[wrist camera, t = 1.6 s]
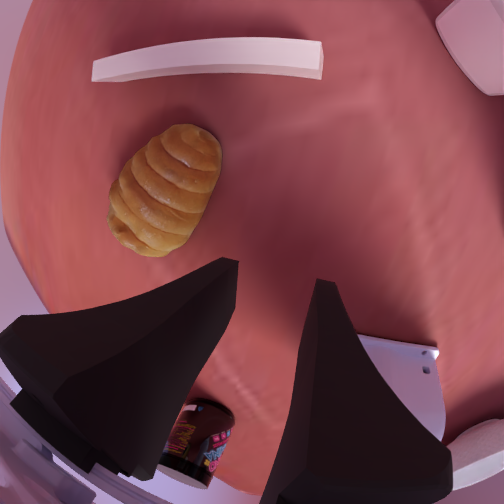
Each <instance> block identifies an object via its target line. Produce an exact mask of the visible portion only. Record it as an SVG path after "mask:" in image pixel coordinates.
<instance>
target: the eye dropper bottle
mask: <svg viewBox="0 0 504 504" xmlns="http://www.w3.org/2000/svg"><path fill="white" fill-rule="evenodd" d="M435 23H436V28H437V30H438V33H439V35H440V37H441V39H442V41H443V43H444V45H445V46H446V48H447V50H448V51H449V53H450V55H451V56H452V58H453V59H454V61H455V62H456V64H457V65H458V66H459V68H460V69H461V70H462V71H463V73H464V74H465V75H466V76H467V77H468V78H469V79H470V80H471V82H472V83H473V84H474V85H475V86H476V87H477V88H478V89H479V90H481V91H482V92H483V93H485V94H487V95H489V96H496V95H504V0H454V1H453V2H452V3H451V4H450V5H449V6H448V7H447V8H446V9H445V10H444V11H443V12H442V13H441V14H440V15H439V16H438V17H437V18H436V20H435Z"/></svg>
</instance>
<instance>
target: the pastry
mask: <svg viewBox="0 0 504 504" xmlns="http://www.w3.org/2000/svg"><path fill="white" fill-rule="evenodd" d="M221 162H222V150H221V146H220V143H219V142H218V140H217V139H216V138H215V137H214V136H213V135H212V134H211V133H209V132H208V131H206V130H204V129H202V128H199V127H197V126H195V125H193V124H175V125H172V126H171V127H170V128H169V129H167V130H166V131H164V132H163V133H162V134H160V135H158V136H155V137H153V138H151V140H150V141H149V142H148V144H147V145H146V146H144V147H142V148H141V149H139V150H138V151H137V152H136V153H135V155H134V156H133V157H132V158H130V160H128V161H127V162H126V164H125V165H124V167H123V170H122V171H121V173H120V174H119V179H118V180H115V181H114V182H113V183H112V185H111V188H110V192H109V200H110V205H109V212H108V215H107V221H108V226H109V228H110V230H111V231H112V233H113V235H114V236H115V237H116V238H117V239H118V240H119V242H120V243H121V244H122V245H123V246H125V247H127V248H130V249H132V250H134V251H135V252H136V253H138V254H140V255H143V256H148V257H163V256H166V255H167V254H169V253H170V252H171V251H172V250H173V249H176V248H179V247H180V246H182V245H184V244H185V243H186V242H187V241H188V239H189V237H190V235H191V233H192V232H193V230H194V229H195V227H196V226H197V224H198V223H199V221H200V219H201V217H202V215H203V213H204V210H205V208H206V206H207V203H208V201H209V199H210V196H211V194H212V191H213V189H214V187H215V185H216V182H217V180H218V178H219V175H220V172H221Z"/></svg>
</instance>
